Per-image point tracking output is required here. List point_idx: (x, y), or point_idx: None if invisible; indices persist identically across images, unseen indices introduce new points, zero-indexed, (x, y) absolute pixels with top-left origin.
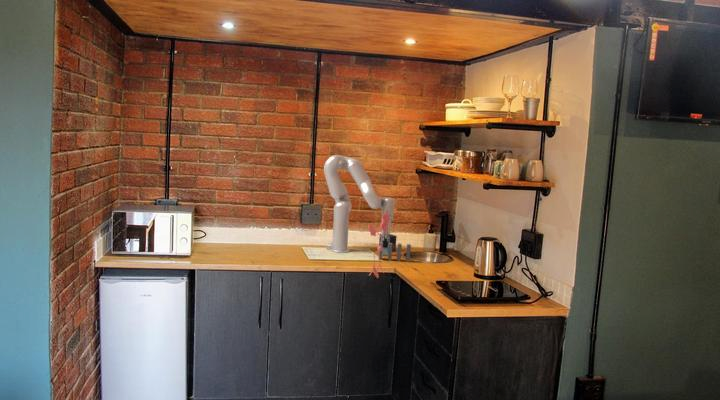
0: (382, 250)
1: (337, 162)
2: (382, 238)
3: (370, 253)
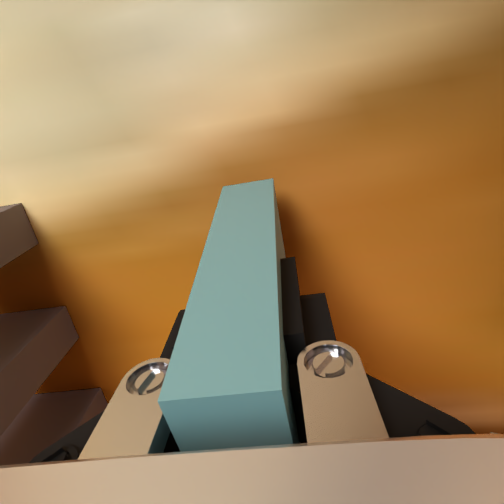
0: None
1: None
2: (171, 381)
3: (311, 11)
